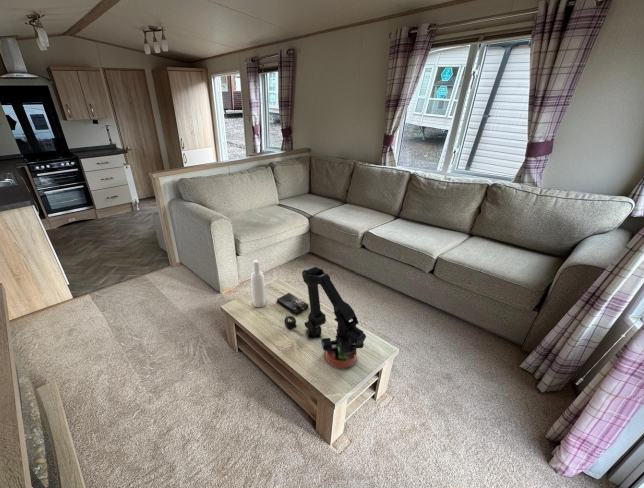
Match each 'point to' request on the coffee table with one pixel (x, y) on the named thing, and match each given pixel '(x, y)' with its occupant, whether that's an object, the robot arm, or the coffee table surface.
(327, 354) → the red bowl
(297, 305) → the stove knob
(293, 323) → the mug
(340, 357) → the cucumber
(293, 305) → the stove
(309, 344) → the coffee table surface
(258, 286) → the bottle
